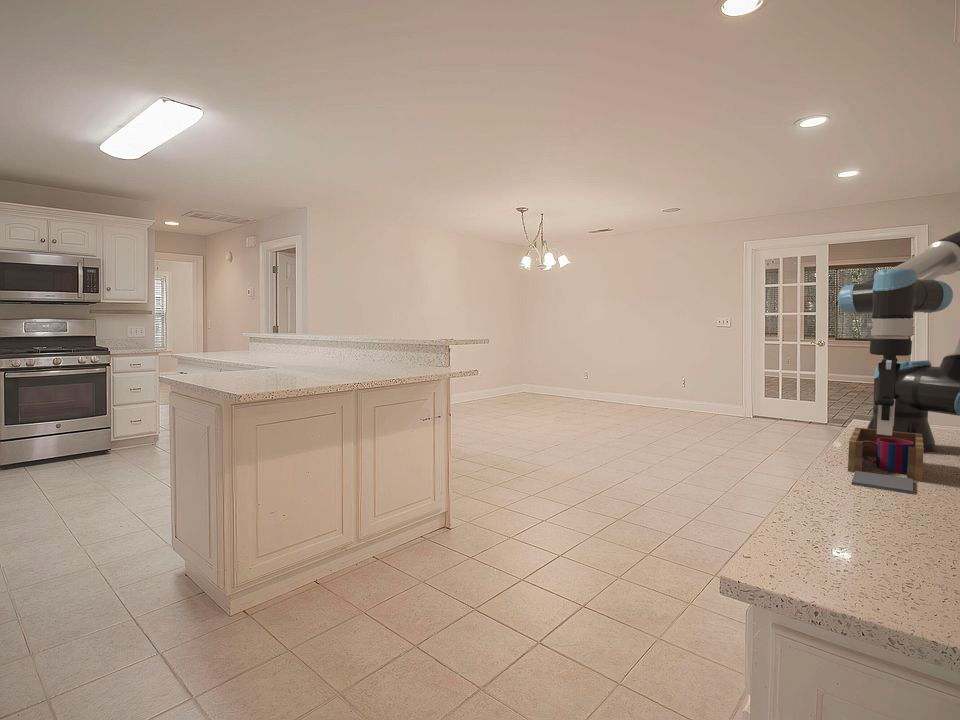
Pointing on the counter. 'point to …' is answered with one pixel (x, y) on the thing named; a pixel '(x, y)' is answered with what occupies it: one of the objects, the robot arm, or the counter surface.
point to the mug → (891, 454)
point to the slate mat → (883, 482)
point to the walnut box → (870, 450)
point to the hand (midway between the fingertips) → (885, 430)
